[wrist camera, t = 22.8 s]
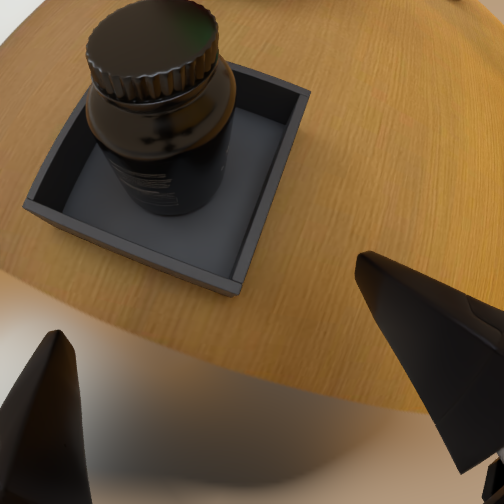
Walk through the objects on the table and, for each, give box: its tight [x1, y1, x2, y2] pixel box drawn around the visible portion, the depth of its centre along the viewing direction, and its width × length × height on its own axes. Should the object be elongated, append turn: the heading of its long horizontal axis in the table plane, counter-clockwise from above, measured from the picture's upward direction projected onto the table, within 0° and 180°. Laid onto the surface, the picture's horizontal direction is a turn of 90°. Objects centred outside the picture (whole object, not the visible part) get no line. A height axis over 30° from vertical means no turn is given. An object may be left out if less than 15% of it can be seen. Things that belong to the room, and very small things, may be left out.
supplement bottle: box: [86, 0, 237, 215], centre depth 15 cm, size 7×7×12 cm
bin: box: [22, 61, 311, 297], centre depth 19 cm, size 13×13×4 cm
